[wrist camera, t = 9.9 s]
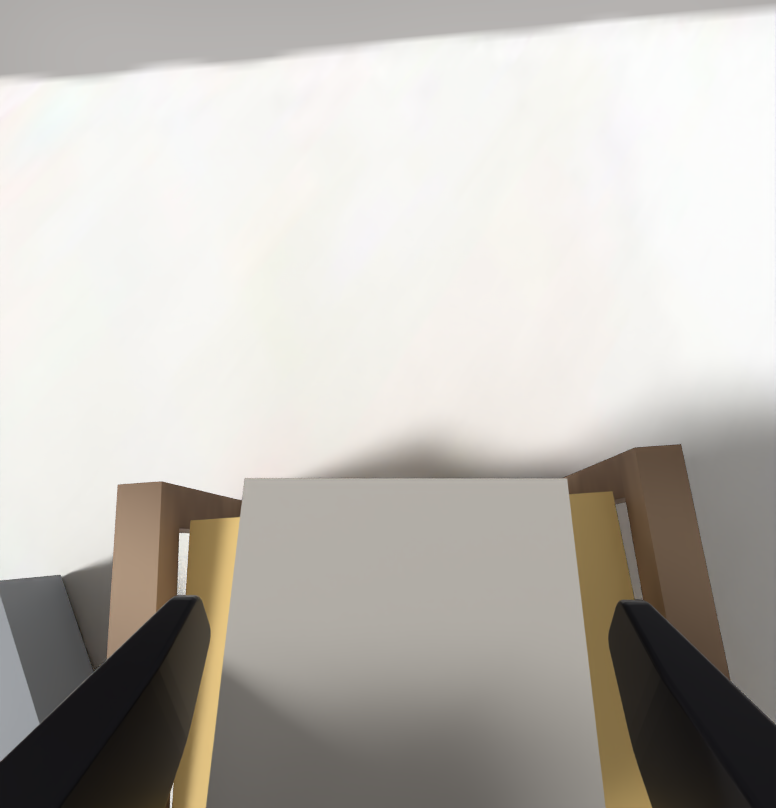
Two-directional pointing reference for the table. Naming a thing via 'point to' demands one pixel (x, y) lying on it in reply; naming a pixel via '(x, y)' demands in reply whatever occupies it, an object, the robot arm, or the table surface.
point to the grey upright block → (405, 648)
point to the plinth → (36, 655)
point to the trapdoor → (600, 593)
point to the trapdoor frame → (622, 474)
